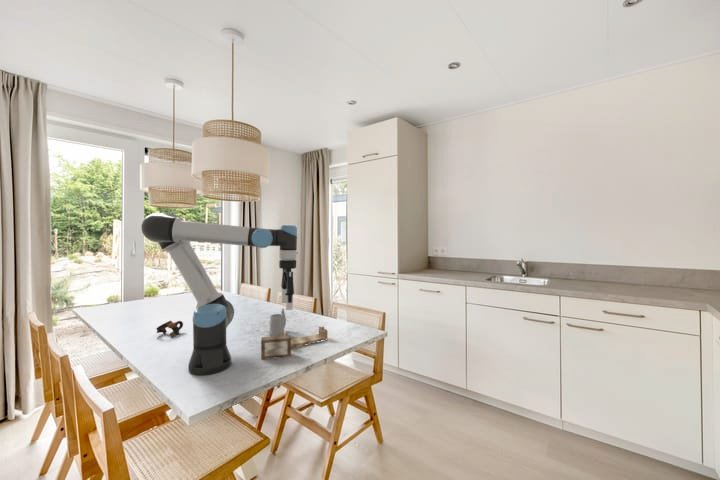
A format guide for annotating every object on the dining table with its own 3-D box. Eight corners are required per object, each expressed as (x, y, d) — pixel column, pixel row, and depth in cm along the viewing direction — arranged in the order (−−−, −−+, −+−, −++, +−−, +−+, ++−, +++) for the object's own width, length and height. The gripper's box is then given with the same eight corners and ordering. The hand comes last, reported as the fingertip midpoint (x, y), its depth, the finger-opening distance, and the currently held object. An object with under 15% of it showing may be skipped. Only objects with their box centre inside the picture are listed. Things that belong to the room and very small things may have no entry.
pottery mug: (166, 340, 151) (158, 326, 151) (159, 345, 157) (151, 331, 157) (189, 328, 161) (181, 314, 161) (182, 332, 167) (174, 319, 167)
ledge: (288, 349, 140) (288, 336, 139) (282, 344, 145) (282, 332, 145) (327, 340, 151) (327, 328, 151) (320, 336, 157) (320, 325, 156)
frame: (261, 359, 128) (261, 340, 128) (261, 355, 132) (261, 337, 132) (290, 356, 131) (290, 338, 131) (290, 353, 135) (290, 335, 135)
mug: (265, 336, 157) (265, 312, 157) (279, 329, 168) (279, 307, 168) (278, 337, 154) (278, 313, 154) (291, 330, 166) (291, 308, 165)
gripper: (301, 262, 129) (300, 312, 130) (291, 257, 153) (290, 299, 153) (283, 262, 127) (282, 313, 127) (276, 257, 150) (275, 300, 150)
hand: (286, 306), depth 140 cm, fingers open, 13 cm apart
